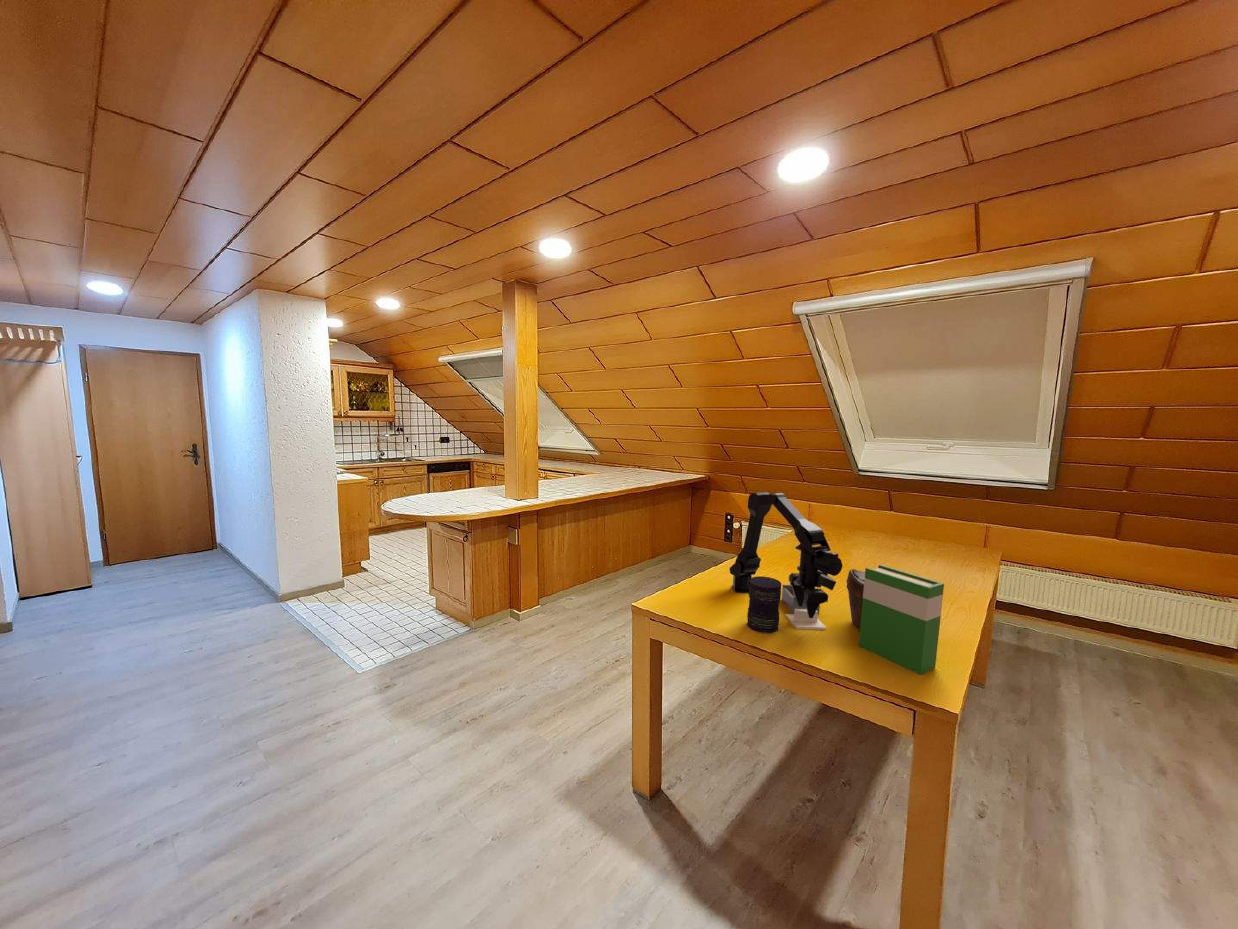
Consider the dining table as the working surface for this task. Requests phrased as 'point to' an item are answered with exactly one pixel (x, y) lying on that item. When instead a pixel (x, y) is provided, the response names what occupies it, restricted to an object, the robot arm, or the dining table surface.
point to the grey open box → (792, 599)
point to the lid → (805, 620)
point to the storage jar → (764, 604)
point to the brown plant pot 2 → (856, 595)
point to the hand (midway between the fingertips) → (805, 612)
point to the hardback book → (901, 617)
